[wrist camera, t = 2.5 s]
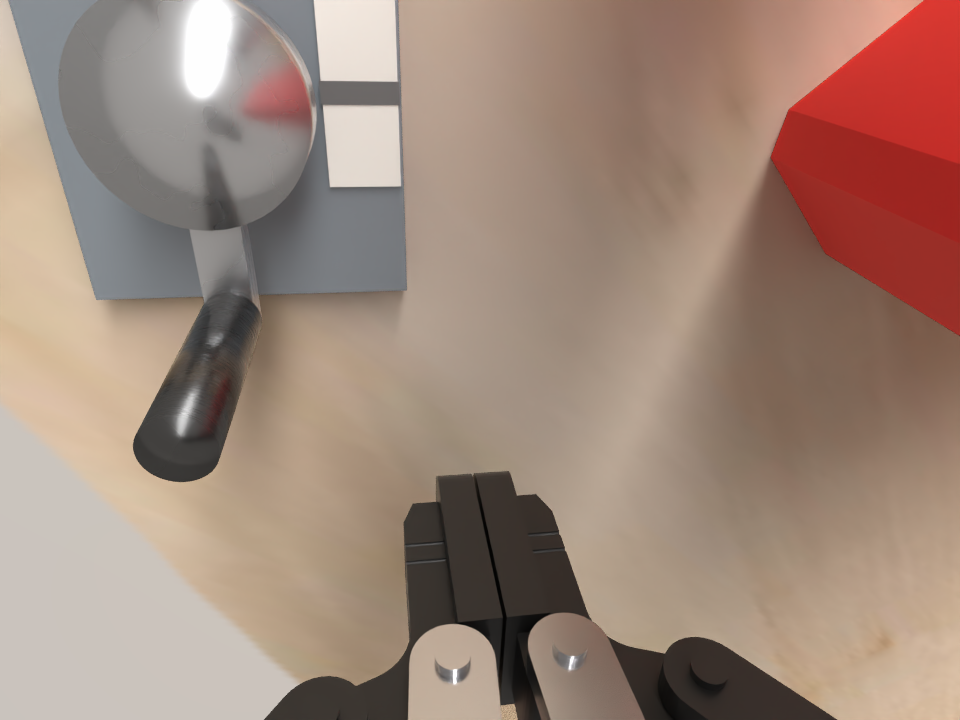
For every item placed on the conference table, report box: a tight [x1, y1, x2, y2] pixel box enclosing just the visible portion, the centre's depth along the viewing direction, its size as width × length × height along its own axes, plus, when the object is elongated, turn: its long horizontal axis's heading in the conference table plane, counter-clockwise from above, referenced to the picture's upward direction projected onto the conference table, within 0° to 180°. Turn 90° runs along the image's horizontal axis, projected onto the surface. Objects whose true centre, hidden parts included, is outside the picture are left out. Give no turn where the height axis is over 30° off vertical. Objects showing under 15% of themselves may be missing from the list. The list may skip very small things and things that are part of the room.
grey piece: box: [58, 0, 317, 482], centre depth 15 cm, size 6×13×8 cm, turn 178°
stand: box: [8, 0, 407, 300], centre depth 20 cm, size 11×14×4 cm
